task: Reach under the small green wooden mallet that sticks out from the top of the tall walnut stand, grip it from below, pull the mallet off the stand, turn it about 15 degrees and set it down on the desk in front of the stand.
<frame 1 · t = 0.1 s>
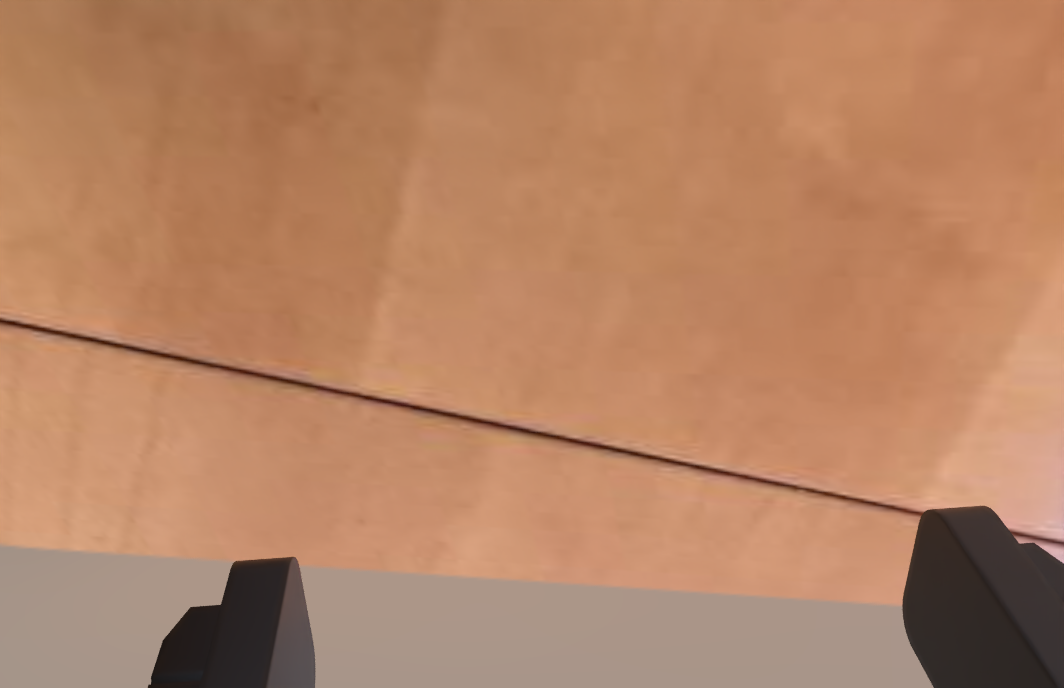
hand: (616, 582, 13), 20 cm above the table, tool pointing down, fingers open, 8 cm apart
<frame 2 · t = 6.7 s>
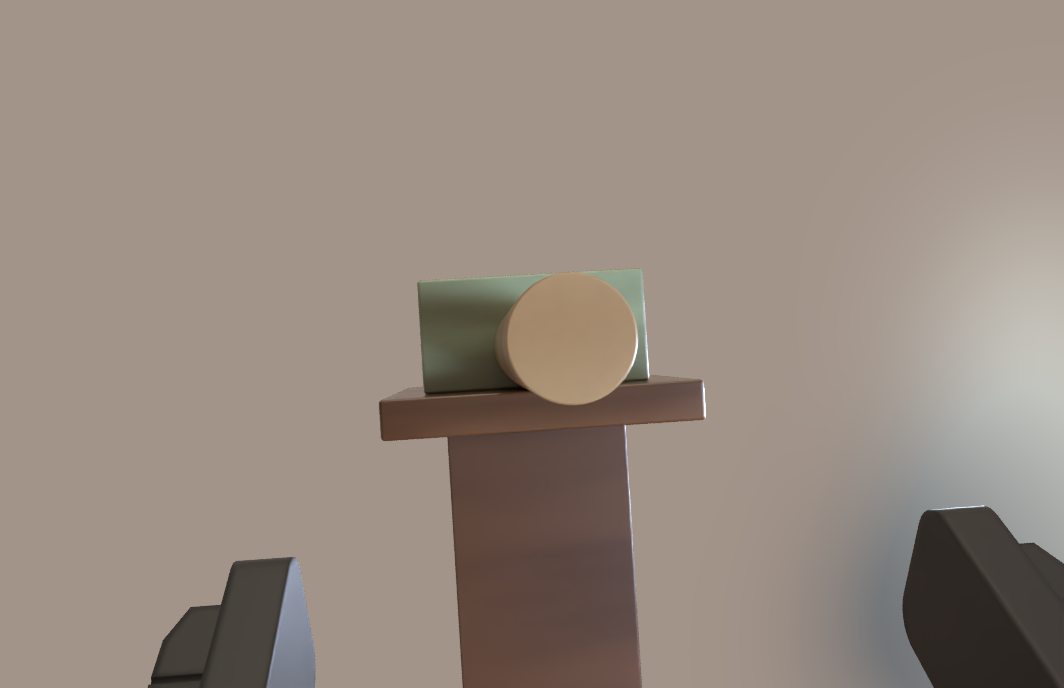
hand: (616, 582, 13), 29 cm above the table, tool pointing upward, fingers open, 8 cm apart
green wooden mallet: (535, 386, 27), point 31 cm above the table, touching stand
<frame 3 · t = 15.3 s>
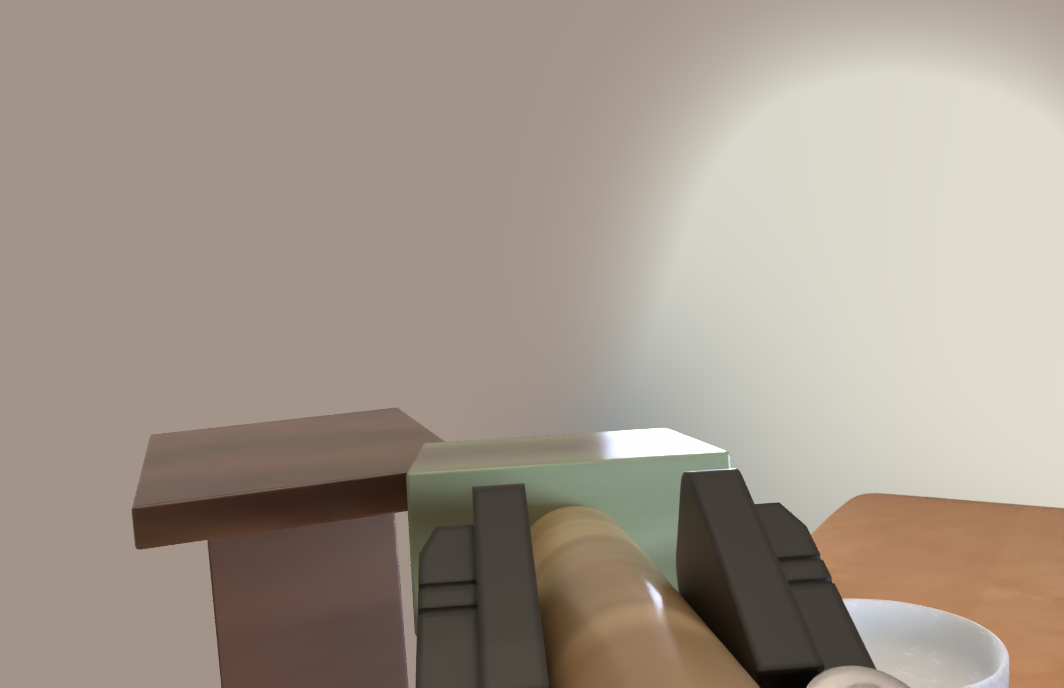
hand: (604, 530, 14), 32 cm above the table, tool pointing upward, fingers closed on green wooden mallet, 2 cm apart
green wooden mallet: (574, 611, 19), point 29 cm above the table, tilted 6°, touching gripper
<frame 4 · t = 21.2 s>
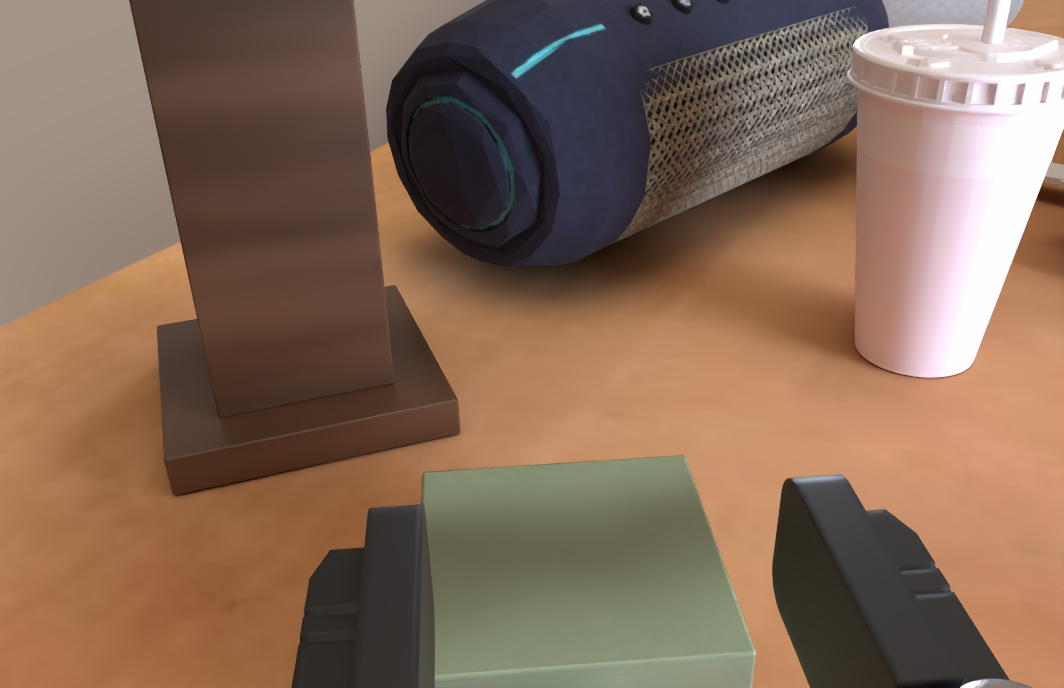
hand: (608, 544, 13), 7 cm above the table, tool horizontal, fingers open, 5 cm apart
stand: (317, 444, 29), on the table
smoothie: (912, 353, 33), on the table
portable speaker: (666, 203, 45), on the table
cereal bowl: (874, 62, 65), on the table
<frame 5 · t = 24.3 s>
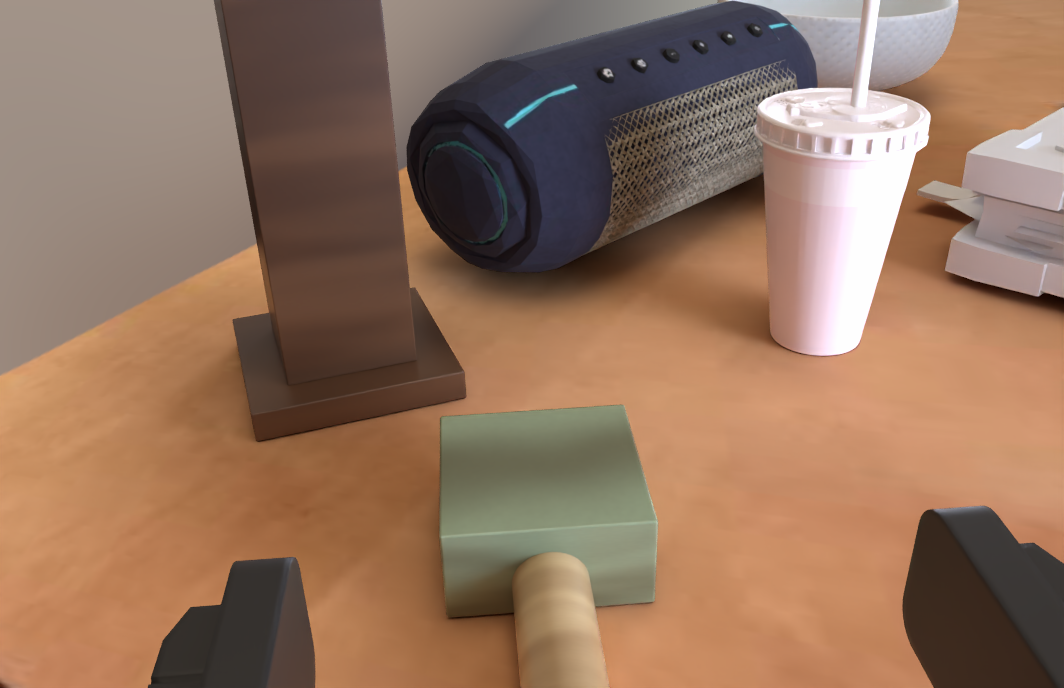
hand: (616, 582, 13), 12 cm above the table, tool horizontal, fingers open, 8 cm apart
stand: (359, 406, 38), on the table
smoothie: (813, 338, 42), on the table
green wooden mallet: (548, 586, 29), on the table
portable speaker: (634, 219, 54), on the table
cereal bowl: (824, 92, 75), on the table
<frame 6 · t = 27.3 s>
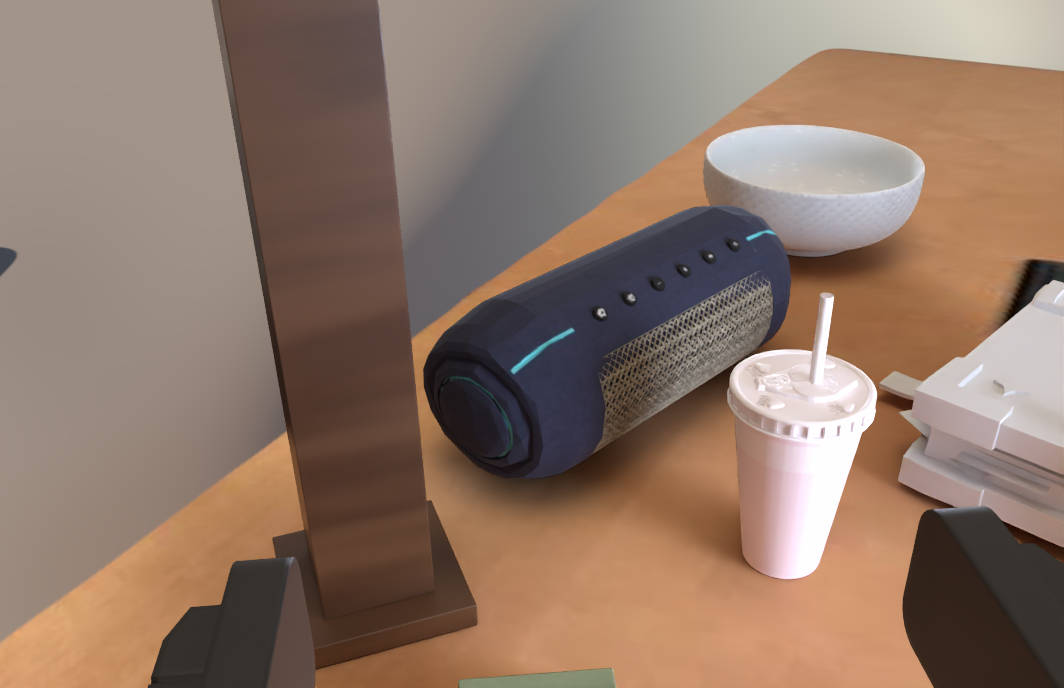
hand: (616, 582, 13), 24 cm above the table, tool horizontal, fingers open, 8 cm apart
stand: (385, 633, 44), on the table
smoothie: (779, 555, 49), on the table
portable speaker: (625, 405, 61), on the table
cereal bowl: (802, 240, 81), on the table
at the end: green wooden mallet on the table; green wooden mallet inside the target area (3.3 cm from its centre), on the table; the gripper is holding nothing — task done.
